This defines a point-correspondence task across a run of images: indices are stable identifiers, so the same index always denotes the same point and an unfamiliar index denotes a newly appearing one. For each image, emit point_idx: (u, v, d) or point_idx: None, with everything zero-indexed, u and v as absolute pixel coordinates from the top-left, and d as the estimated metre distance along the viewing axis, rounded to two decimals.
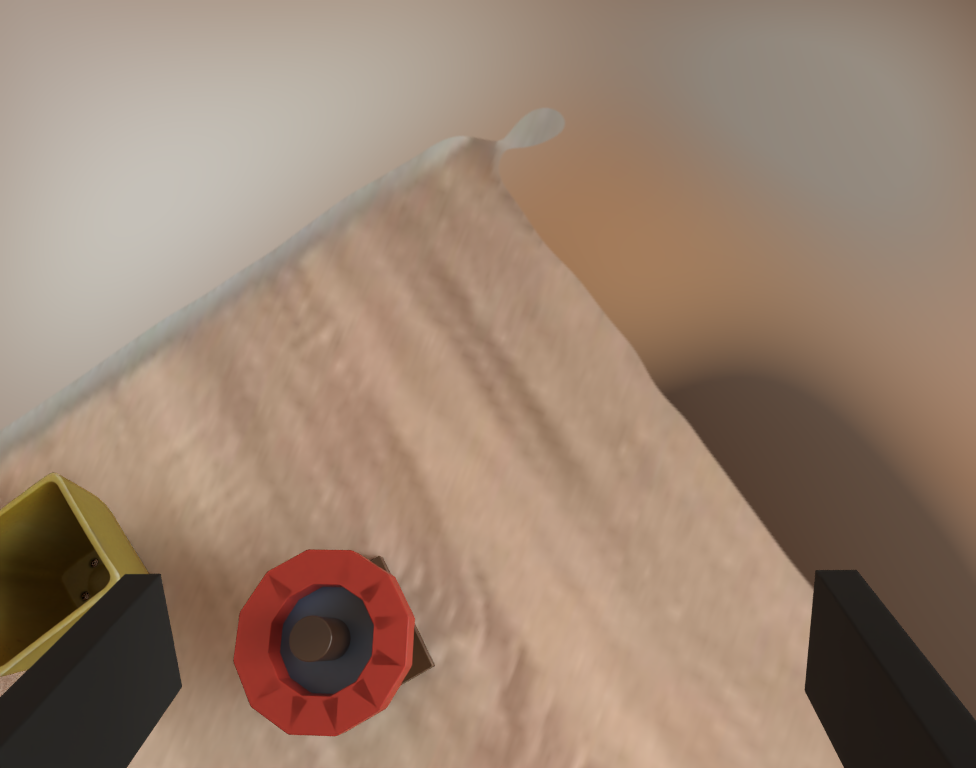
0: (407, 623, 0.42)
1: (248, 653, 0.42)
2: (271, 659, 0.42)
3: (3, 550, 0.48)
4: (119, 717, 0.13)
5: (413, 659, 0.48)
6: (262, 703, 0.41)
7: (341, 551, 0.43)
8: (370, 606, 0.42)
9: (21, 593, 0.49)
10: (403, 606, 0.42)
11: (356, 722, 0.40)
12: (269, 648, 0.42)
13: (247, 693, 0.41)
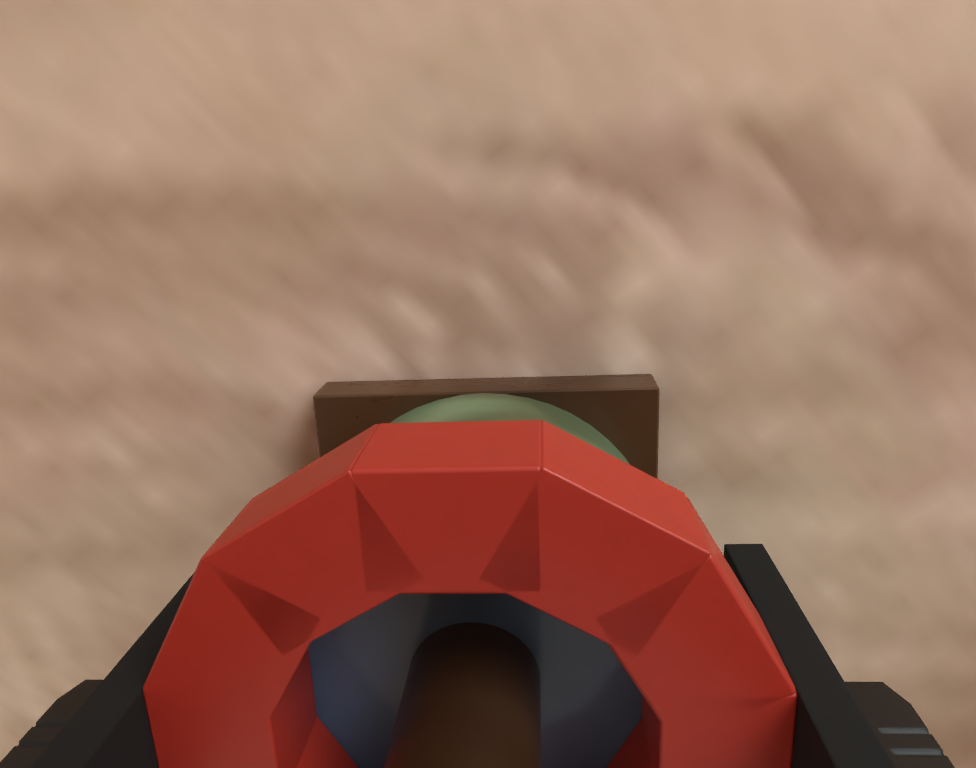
0: (565, 482, 0.10)
1: None
2: None
3: None
4: None
5: (617, 426, 0.17)
6: None
7: (192, 590, 0.11)
8: (436, 578, 0.11)
9: None
10: (495, 467, 0.10)
11: None
12: None
13: None
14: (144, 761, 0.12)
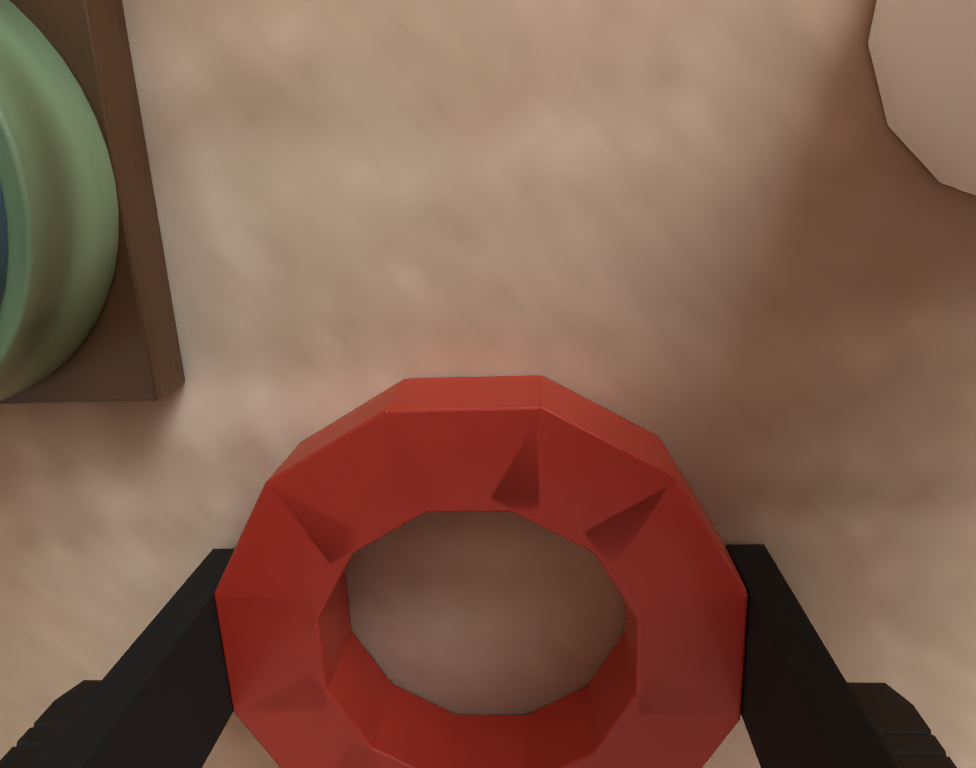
0: (559, 418, 0.13)
1: None
2: None
3: None
4: (218, 680, 0.14)
5: None
6: None
7: (257, 510, 0.13)
8: (455, 499, 0.13)
9: None
10: (503, 407, 0.13)
11: (740, 658, 0.14)
12: None
13: None
14: (142, 762, 0.11)
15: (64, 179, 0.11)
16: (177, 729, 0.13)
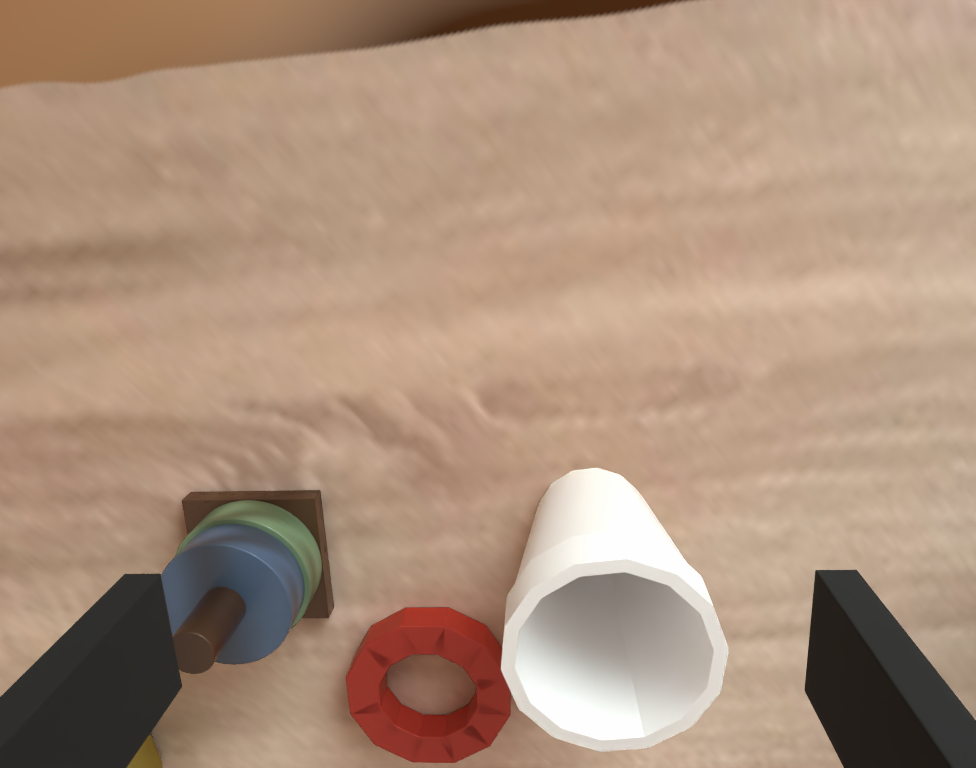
0: (450, 629, 0.44)
1: (411, 750, 0.46)
2: (425, 735, 0.46)
3: None
4: (119, 717, 0.13)
5: (300, 512, 0.43)
6: (456, 754, 0.46)
7: (361, 653, 0.44)
8: (420, 650, 0.44)
9: None
10: (434, 626, 0.44)
11: (508, 697, 0.45)
12: (415, 733, 0.46)
13: (443, 761, 0.46)
14: None
15: (314, 572, 0.42)
16: None
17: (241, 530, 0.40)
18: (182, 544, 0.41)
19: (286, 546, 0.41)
